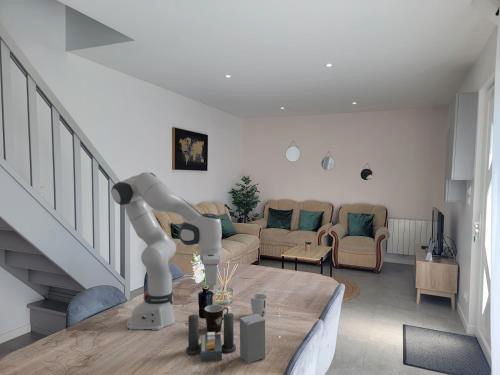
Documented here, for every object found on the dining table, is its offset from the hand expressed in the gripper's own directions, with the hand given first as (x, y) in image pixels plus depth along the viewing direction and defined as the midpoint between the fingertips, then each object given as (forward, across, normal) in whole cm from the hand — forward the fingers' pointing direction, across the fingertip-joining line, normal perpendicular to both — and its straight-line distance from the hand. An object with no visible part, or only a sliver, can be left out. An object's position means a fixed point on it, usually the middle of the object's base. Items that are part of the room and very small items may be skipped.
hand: (211, 289), depth 134 cm
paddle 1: (+22, -4, 0) cm, 22 cm away
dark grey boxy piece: (+25, 0, 0) cm, 25 cm away
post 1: (+25, -1, -7) cm, 26 cm away
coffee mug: (+25, -19, +3) cm, 32 cm away
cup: (+25, -31, +24) cm, 47 cm away
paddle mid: (+22, 0, 0) cm, 22 cm away
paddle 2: (+22, +4, 0) cm, 22 cm away
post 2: (+25, -1, +7) cm, 26 cm away
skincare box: (+26, +7, +16) cm, 31 cm away
